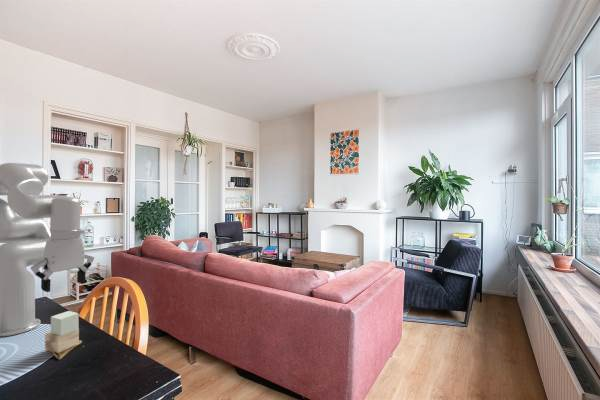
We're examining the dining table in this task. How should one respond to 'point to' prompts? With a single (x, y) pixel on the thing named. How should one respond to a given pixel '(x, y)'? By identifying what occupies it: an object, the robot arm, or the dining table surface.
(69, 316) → the sage block
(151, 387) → the dining table surface
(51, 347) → the beige metal block
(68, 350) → the shard
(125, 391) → the dining table surface
